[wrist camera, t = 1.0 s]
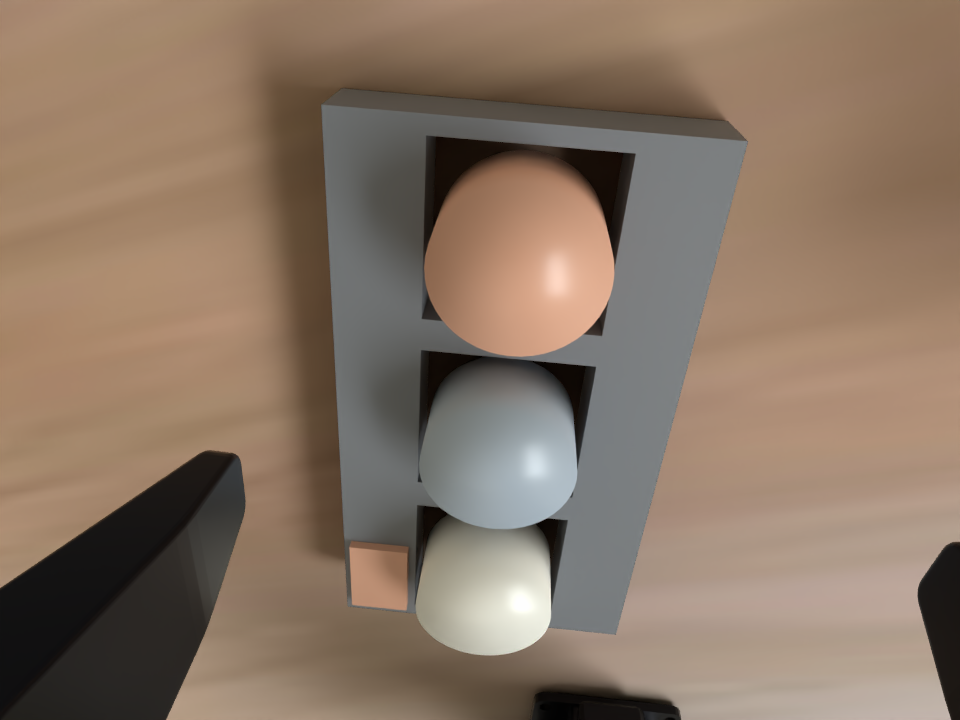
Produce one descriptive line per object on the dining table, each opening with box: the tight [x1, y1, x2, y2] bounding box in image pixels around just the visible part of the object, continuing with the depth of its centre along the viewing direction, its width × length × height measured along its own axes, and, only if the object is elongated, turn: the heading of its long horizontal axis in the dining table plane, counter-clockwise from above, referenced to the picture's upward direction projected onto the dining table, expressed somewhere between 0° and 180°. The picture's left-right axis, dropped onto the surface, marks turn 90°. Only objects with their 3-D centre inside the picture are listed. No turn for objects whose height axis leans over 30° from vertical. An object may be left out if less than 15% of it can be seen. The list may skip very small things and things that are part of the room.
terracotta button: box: [424, 150, 614, 357], centre depth 17 cm, size 4×4×3 cm
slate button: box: [419, 357, 577, 529], centre depth 20 cm, size 4×4×3 cm
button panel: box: [321, 88, 748, 635], centre depth 22 cm, size 18×10×2 cm, turn 176°
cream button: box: [415, 514, 551, 655], centre depth 24 cm, size 4×4×3 cm
